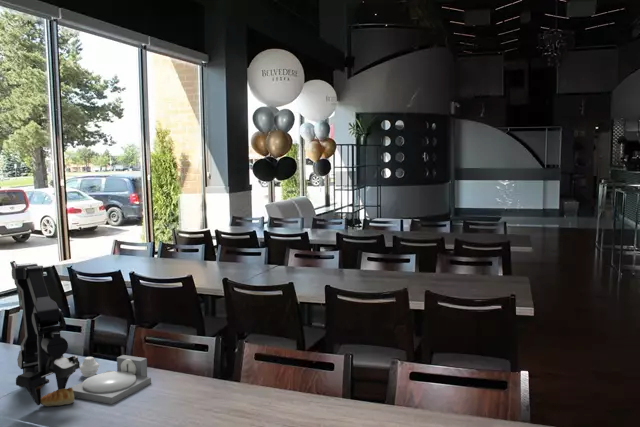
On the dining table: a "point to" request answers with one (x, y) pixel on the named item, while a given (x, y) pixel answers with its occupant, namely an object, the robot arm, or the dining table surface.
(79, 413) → the dining table surface
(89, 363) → the garlic bulb
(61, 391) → the pastry
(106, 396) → the scale
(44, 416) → the dining table surface
